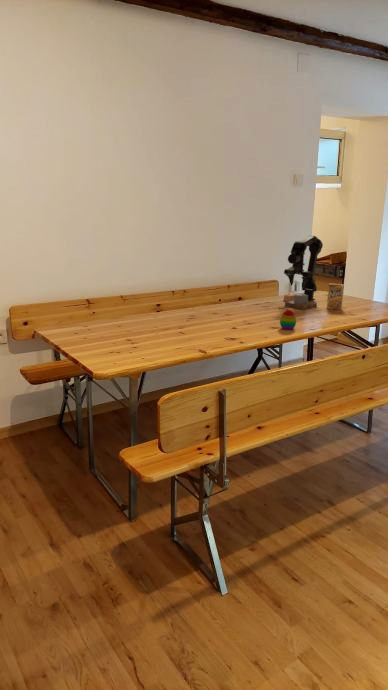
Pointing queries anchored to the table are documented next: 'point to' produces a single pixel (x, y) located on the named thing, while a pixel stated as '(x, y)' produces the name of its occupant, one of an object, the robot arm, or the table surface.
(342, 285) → the candy box
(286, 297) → the terracotta cube
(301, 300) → the grey block
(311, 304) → the walnut plinth
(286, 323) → the decorative egg
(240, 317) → the table surface
